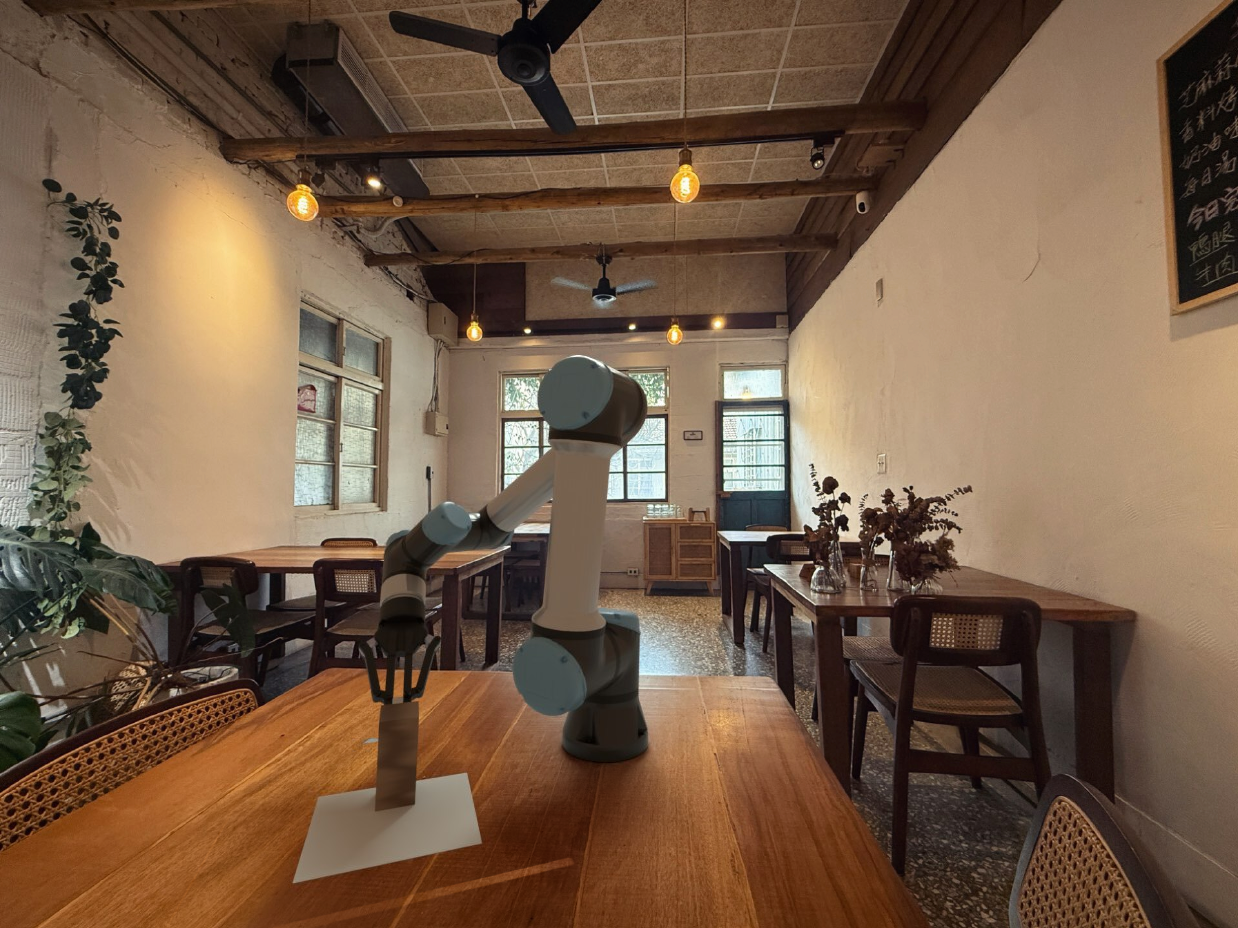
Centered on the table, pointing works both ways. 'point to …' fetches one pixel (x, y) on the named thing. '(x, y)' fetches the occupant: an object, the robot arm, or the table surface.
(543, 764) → the table surface
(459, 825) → the mat
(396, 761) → the walnut block
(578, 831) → the table surface
